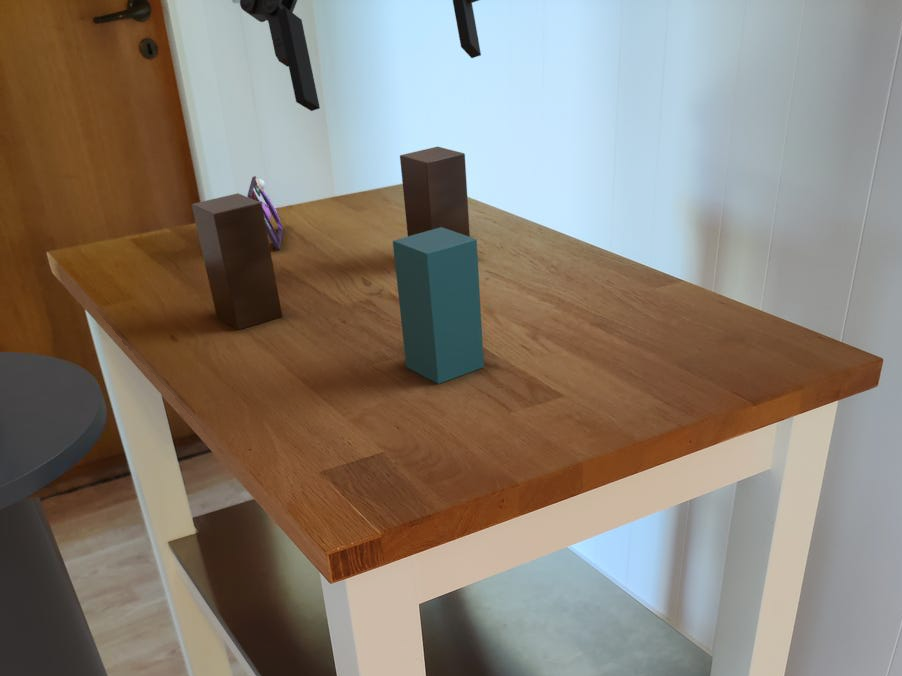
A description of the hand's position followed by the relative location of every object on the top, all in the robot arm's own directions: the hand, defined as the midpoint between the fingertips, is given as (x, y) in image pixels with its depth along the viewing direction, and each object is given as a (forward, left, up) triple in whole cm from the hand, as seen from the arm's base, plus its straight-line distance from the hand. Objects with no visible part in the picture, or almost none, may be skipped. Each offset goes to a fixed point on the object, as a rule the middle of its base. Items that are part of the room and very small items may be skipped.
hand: (387, 79), depth 75 cm
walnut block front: (-17, +15, -22) cm, 32 cm away
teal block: (+3, -1, -22) cm, 23 cm away
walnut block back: (+2, +28, -22) cm, 36 cm away
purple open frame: (-19, +41, -23) cm, 50 cm away
